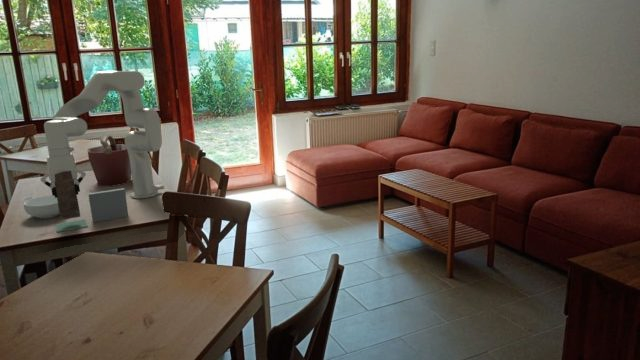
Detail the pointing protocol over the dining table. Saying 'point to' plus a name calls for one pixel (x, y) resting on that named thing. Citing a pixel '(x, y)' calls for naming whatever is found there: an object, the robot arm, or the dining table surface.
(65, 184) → the brown textured block
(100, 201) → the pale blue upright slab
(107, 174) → the bucket
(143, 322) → the dining table surface
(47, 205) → the cereal bowl
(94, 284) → the dining table surface
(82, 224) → the mat
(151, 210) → the dining table surface
